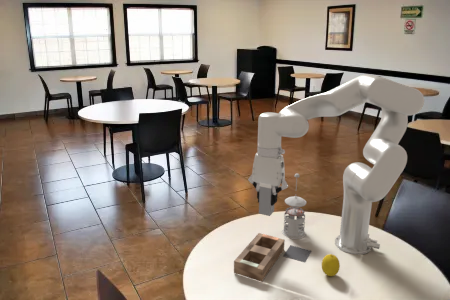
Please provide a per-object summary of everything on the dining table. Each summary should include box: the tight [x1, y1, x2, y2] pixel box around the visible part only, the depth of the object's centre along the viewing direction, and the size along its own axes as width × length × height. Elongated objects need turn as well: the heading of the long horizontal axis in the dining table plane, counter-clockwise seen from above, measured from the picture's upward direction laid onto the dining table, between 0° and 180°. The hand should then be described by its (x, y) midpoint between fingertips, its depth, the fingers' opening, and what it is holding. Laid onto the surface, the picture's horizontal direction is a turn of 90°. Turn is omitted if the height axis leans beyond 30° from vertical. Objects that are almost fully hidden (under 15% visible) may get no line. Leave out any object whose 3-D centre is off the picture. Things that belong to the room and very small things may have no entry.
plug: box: [258, 182, 275, 217], centre depth 128 cm, size 4×4×12 cm
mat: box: [282, 244, 313, 263], centre depth 134 cm, size 8×8×1 cm
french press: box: [281, 173, 307, 240], centre depth 145 cm, size 10×12×25 cm
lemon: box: [321, 253, 341, 277], centre depth 121 cm, size 6×6×8 cm
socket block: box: [233, 232, 286, 283], centre depth 130 cm, size 10×20×5 cm, turn 152°
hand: (266, 202), depth 128 cm, fingers closed on plug, 4 cm apart
